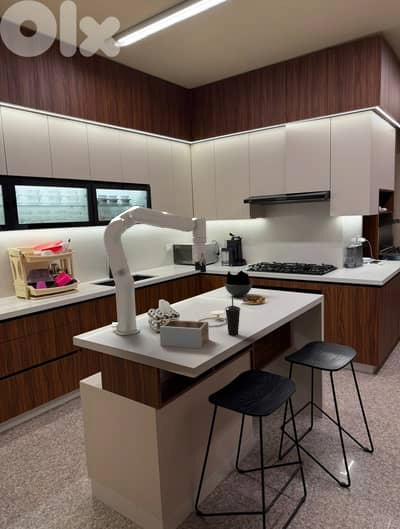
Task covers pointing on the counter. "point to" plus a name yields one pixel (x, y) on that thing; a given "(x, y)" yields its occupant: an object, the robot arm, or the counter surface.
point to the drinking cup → (232, 319)
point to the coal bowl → (238, 284)
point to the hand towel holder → (217, 312)
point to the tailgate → (181, 337)
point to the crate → (191, 325)
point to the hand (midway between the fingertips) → (200, 271)
